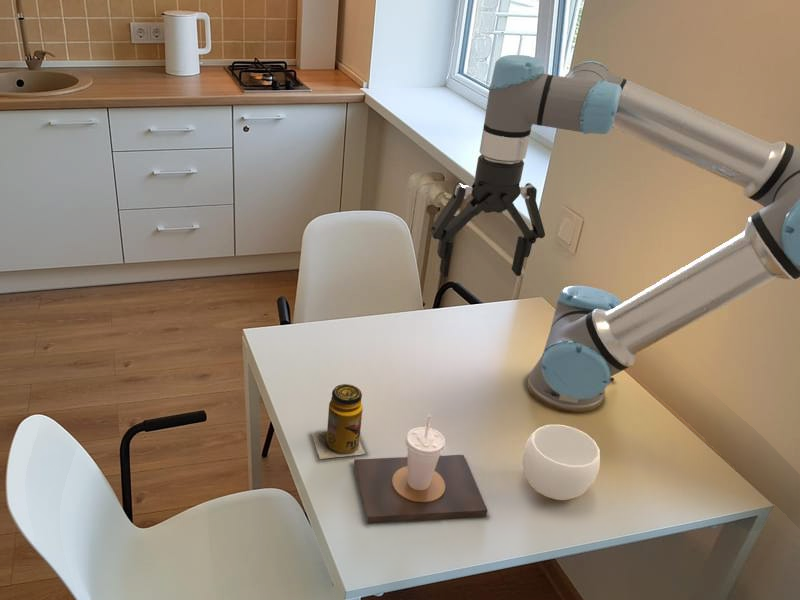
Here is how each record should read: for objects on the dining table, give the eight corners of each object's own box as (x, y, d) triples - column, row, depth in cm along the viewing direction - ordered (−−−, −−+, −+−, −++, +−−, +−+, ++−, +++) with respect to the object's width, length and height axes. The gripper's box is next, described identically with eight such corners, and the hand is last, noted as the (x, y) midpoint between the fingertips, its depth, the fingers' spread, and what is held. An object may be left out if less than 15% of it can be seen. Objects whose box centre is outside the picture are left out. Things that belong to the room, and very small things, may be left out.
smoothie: (436, 472, 126) (448, 407, 118) (438, 497, 121) (450, 432, 113) (399, 468, 126) (409, 403, 119) (399, 493, 121) (409, 428, 113)
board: (462, 460, 131) (463, 453, 130) (486, 516, 120) (487, 509, 119) (353, 465, 129) (354, 458, 128) (367, 523, 117) (368, 516, 116)
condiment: (365, 454, 131) (370, 401, 125) (319, 459, 130) (323, 406, 123) (354, 429, 137) (359, 377, 131) (311, 434, 136) (314, 381, 129)
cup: (603, 506, 123) (618, 463, 118) (538, 518, 120) (551, 474, 115) (565, 459, 133) (577, 417, 128) (504, 468, 130) (514, 426, 125)
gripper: (564, 150, 124) (538, 263, 136) (422, 149, 121) (408, 264, 132) (582, 165, 118) (553, 281, 129) (433, 164, 115) (417, 283, 126)
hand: (479, 273), depth 131 cm, fingers open, 13 cm apart
